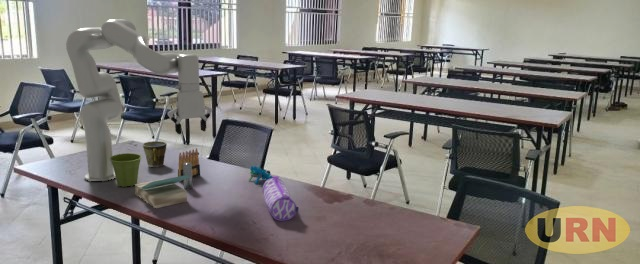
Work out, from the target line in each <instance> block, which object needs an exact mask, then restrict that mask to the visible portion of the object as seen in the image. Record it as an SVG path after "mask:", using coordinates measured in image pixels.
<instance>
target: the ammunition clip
mask: <svg viewBox="0 0 640 264" xmlns="http://www.w3.org/2000/svg"><path fill="white" fill-rule="evenodd" d="M186 162H190V163H192V179H195V178H198V177H201V166H200V161H199V152H198V148H195V150H194V148H193V149H192V150H191V149H189V152H188V151H187V150H186V151H185V152H184V151H182V152H179V155H178V169H177V177H179V176H184V173H183V163H186ZM179 183H184V180H182V181H180V182H179Z"/></svg>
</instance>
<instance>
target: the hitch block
mask: <svg viewBox="0 0 640 264" xmlns="http://www.w3.org/2000/svg"><path fill="white" fill-rule="evenodd" d="M164 179H165V178H160V179H156V180H150V181H145V182H141V183H137V184H135V186H134V195H135V194H136V195H135V196H137V195H138V196H139V197H140V199H141V198H142V199H143V200H142V199H141V200H142V201H144V202H145V201H146V204H148V203H149V204H150V205H149V204H148V205H149V206H151V207H152V206H153V207H152V208H153V209H155V208H156V209H160V208H163V207H164V208H165V207H168V206H173V205H177V204H180V203H181V204H183V203H186V202H188V195H187V193H188V192H187V191H188V190H186V189H184V187H181V186H179V185H177V183H175V184H170V185H165V186H160V187H155V188H150V189H145V190H142V188H141V187H143V186H145V185H147V184H149V183H151V182H153V181H158V180H164ZM138 196H137V197H138ZM139 197H138V198H139Z"/></svg>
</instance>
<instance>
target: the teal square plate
mask: <svg viewBox="0 0 640 264" xmlns="http://www.w3.org/2000/svg"><path fill="white" fill-rule="evenodd" d="M186 178H189V177H188V175H184V176H179V177H178V176H175V177H169V178H163V179H164V180H160V179H157V180H158V181H155V180H152V181H153V182H151V183H149V184H147V185H145V186H143V187H141V188H142V190H145V189H150V188H155V187H160V186H165V185H170V184H177V183H181V182H180V181H182V180H184V179H186Z"/></svg>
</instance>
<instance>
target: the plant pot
mask: <svg viewBox="0 0 640 264" xmlns="http://www.w3.org/2000/svg"><path fill="white" fill-rule="evenodd" d="M142 158H143V156H142V155H141V154H139V153H129V152H125V153H124V152H123V153H119V154H115V155H113V156H111V157H110V160H111V162H112V165H113V170H114V172H115V176H116V178H115V180H116V184H117V186H118V185H119V187H120V186H122V187H121V188H124V187H125V188H126V187H127V186H131V187H134V186H133V185H135V184H138V179H139V177H138V176H139V170H140V164H141V160H142ZM127 188H128V187H127Z"/></svg>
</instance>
